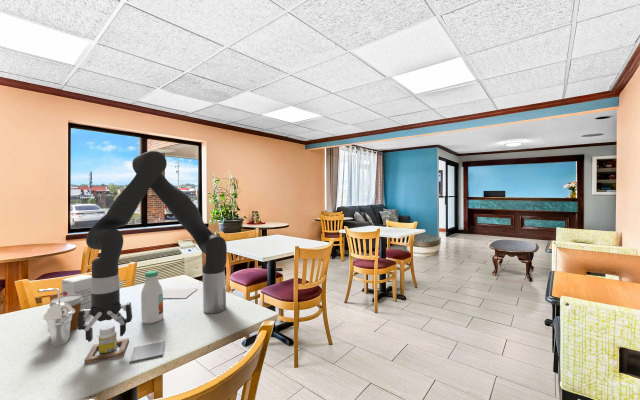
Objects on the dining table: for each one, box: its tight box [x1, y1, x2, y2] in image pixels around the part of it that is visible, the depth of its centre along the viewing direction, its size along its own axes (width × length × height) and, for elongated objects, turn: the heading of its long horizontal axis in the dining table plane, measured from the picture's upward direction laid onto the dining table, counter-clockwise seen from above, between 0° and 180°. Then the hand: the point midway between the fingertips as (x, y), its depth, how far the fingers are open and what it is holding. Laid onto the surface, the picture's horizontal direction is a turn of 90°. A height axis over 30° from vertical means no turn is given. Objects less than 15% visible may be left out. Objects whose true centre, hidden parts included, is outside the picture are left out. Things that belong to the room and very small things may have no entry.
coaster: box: [129, 341, 165, 364], centre depth 95 cm, size 9×9×1 cm
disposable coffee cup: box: [49, 294, 82, 332], centre depth 111 cm, size 10×10×12 cm
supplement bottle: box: [98, 324, 118, 355], centre depth 95 cm, size 5×5×8 cm
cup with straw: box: [38, 287, 75, 346], centre depth 102 cm, size 8×9×20 cm
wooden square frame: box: [83, 337, 130, 365], centre depth 96 cm, size 10×10×1 cm
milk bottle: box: [140, 270, 164, 325], centre depth 119 cm, size 8×8×20 cm
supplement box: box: [61, 274, 92, 310], centre depth 128 cm, size 9×9×15 cm
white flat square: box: [162, 287, 197, 299], centre depth 145 cm, size 23×25×1 cm
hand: (106, 337), depth 95 cm, fingers open, 8 cm apart
